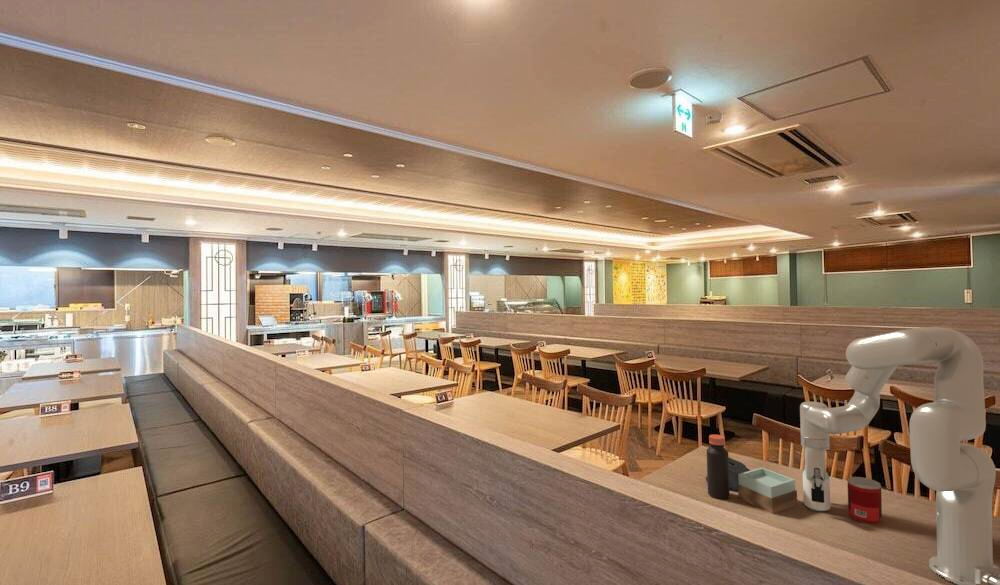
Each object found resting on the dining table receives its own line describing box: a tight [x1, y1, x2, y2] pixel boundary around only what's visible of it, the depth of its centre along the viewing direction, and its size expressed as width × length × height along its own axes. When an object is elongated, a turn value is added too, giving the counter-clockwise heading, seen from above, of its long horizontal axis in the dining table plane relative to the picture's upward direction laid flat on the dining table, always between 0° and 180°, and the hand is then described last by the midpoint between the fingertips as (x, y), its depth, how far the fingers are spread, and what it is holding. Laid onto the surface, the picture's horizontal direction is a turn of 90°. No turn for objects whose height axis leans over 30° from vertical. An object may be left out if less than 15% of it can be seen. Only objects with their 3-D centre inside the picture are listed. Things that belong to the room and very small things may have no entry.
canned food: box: [847, 476, 883, 525], centre depth 139 cm, size 8×8×11 cm
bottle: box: [706, 434, 731, 500], centre depth 158 cm, size 7×7×20 cm
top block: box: [738, 466, 796, 498], centre depth 152 cm, size 12×12×4 cm
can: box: [802, 469, 831, 512], centre depth 147 cm, size 7×7×12 cm
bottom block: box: [737, 484, 798, 514], centre depth 152 cm, size 12×12×5 cm
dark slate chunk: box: [705, 456, 752, 492], centre depth 171 cm, size 15×22×5 cm
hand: (816, 495), depth 147 cm, fingers open, 9 cm apart
